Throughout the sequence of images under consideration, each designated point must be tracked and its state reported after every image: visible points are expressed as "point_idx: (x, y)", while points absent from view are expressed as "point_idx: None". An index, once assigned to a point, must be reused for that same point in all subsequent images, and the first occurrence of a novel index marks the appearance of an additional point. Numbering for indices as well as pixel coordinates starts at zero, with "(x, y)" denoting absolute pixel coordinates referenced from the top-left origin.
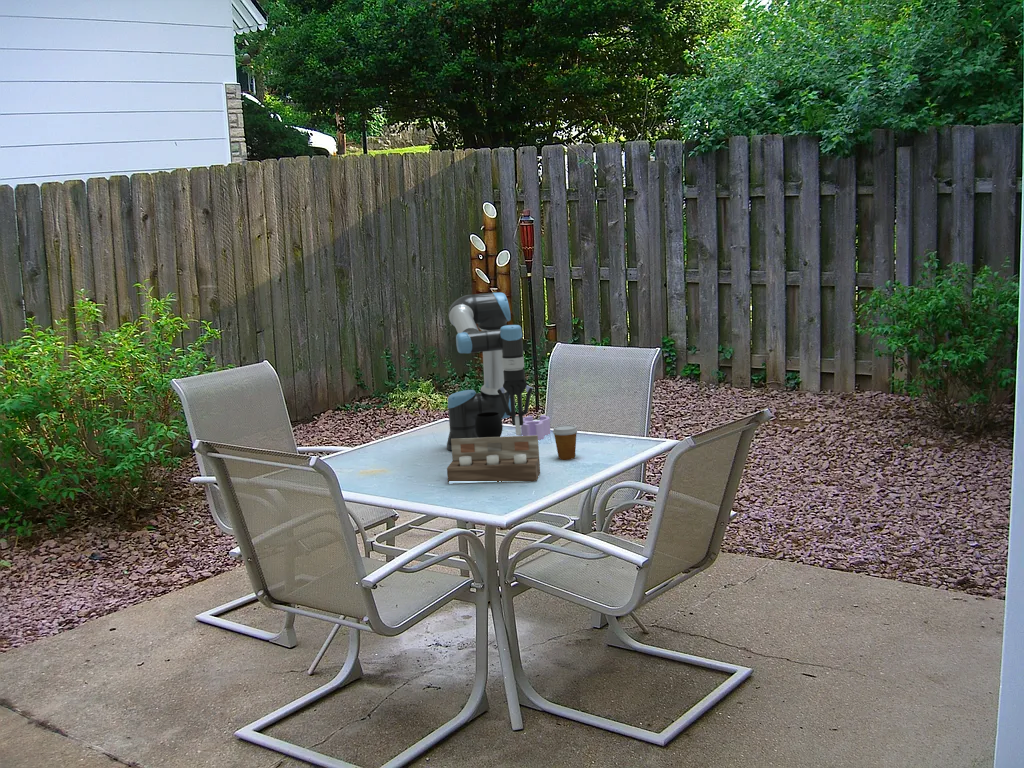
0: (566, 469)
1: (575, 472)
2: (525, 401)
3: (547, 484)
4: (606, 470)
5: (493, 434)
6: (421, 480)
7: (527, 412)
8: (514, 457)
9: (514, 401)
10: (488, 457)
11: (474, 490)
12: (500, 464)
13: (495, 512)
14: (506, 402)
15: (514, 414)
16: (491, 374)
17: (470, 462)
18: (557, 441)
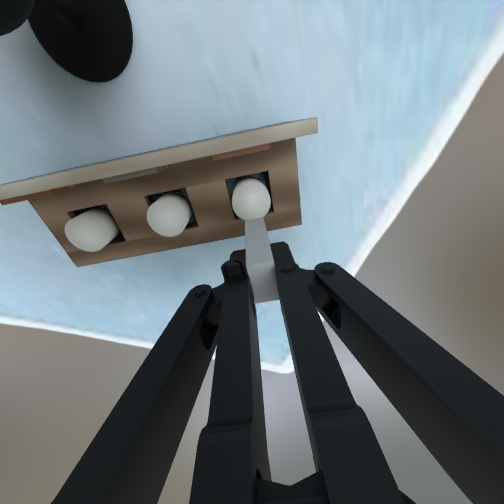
0: (358, 72)
1: (384, 112)
2: (380, 389)
3: (320, 230)
4: (477, 80)
5: (17, 14)
6: (7, 221)
7: (336, 264)
8: (237, 213)
9: (255, 375)
10: (161, 233)
11: (185, 278)
12: (202, 226)
13: (268, 357)
14: (185, 402)
15: (255, 314)
16: None
17: (112, 233)
18: None
